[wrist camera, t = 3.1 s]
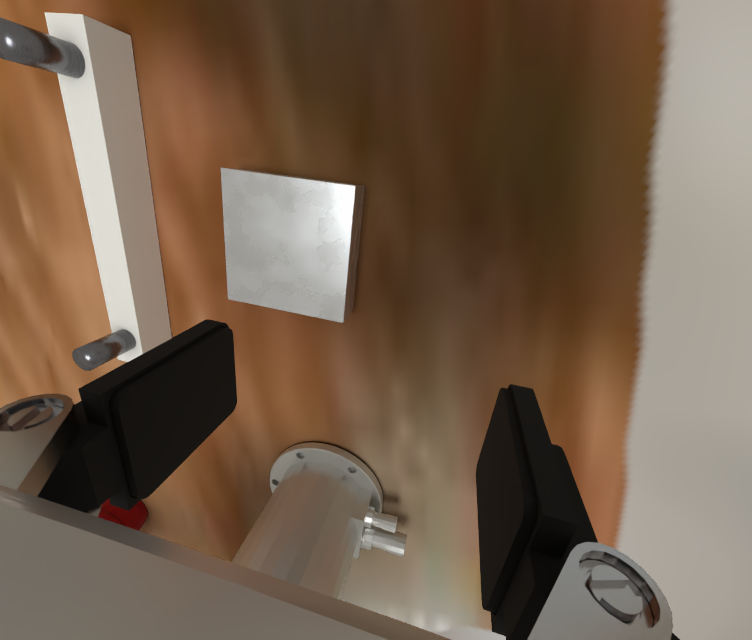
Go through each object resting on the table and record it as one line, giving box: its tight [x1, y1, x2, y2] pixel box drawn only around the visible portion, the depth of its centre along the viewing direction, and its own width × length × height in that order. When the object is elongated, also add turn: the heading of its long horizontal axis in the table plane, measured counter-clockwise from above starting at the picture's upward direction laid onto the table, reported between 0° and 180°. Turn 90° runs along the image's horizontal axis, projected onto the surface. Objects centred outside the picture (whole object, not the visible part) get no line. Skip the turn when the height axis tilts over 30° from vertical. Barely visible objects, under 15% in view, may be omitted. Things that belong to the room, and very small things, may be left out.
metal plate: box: [221, 168, 365, 323], centre depth 27 cm, size 10×10×3 cm
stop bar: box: [0, 12, 172, 371], centre depth 27 cm, size 3×26×8 cm, turn 173°
